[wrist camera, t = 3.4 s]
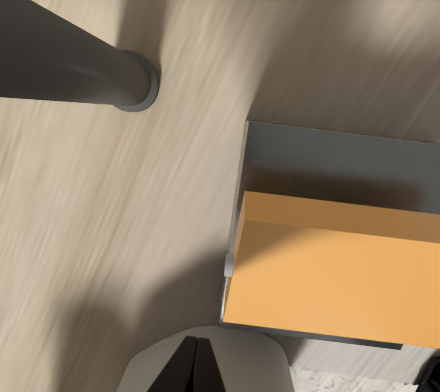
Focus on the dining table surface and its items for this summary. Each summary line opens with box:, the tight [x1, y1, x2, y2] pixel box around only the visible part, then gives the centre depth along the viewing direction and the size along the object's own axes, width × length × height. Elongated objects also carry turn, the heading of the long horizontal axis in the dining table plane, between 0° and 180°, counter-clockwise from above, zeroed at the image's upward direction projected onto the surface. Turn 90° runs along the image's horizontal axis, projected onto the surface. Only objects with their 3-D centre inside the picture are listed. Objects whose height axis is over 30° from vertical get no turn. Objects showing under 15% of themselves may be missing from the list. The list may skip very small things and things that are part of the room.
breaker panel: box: [219, 120, 440, 350], centre depth 14 cm, size 11×12×4 cm
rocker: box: [223, 191, 440, 349], centre depth 11 cm, size 12×7×2 cm, turn 83°
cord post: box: [0, 0, 159, 112], centre depth 10 cm, size 3×3×10 cm
